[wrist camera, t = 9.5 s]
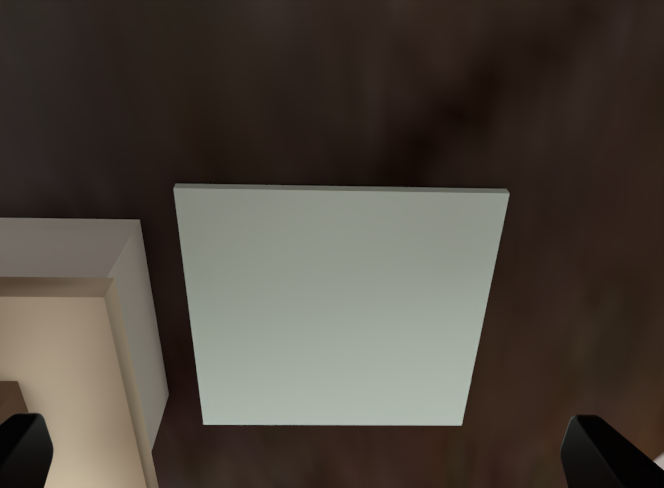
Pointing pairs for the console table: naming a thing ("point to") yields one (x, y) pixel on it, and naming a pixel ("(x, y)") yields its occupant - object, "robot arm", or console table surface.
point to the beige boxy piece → (101, 262)
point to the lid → (75, 379)
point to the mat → (336, 300)
